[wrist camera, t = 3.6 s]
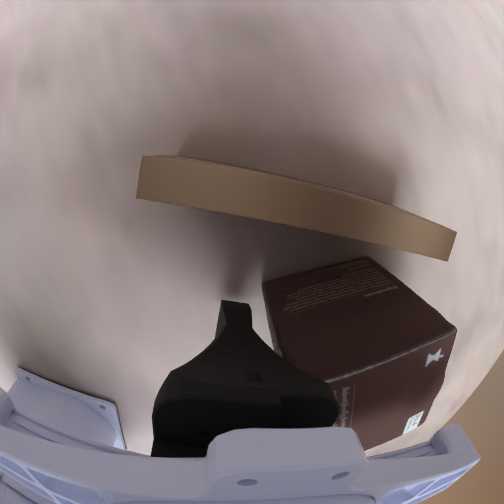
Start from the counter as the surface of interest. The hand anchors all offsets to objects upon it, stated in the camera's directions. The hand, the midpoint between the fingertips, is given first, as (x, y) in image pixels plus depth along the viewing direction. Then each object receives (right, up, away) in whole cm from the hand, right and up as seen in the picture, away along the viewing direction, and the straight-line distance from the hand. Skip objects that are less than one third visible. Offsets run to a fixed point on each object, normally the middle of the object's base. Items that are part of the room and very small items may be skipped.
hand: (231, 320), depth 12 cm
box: (+5, 0, +3) cm, 6 cm away
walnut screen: (+3, +6, 0) cm, 6 cm away
